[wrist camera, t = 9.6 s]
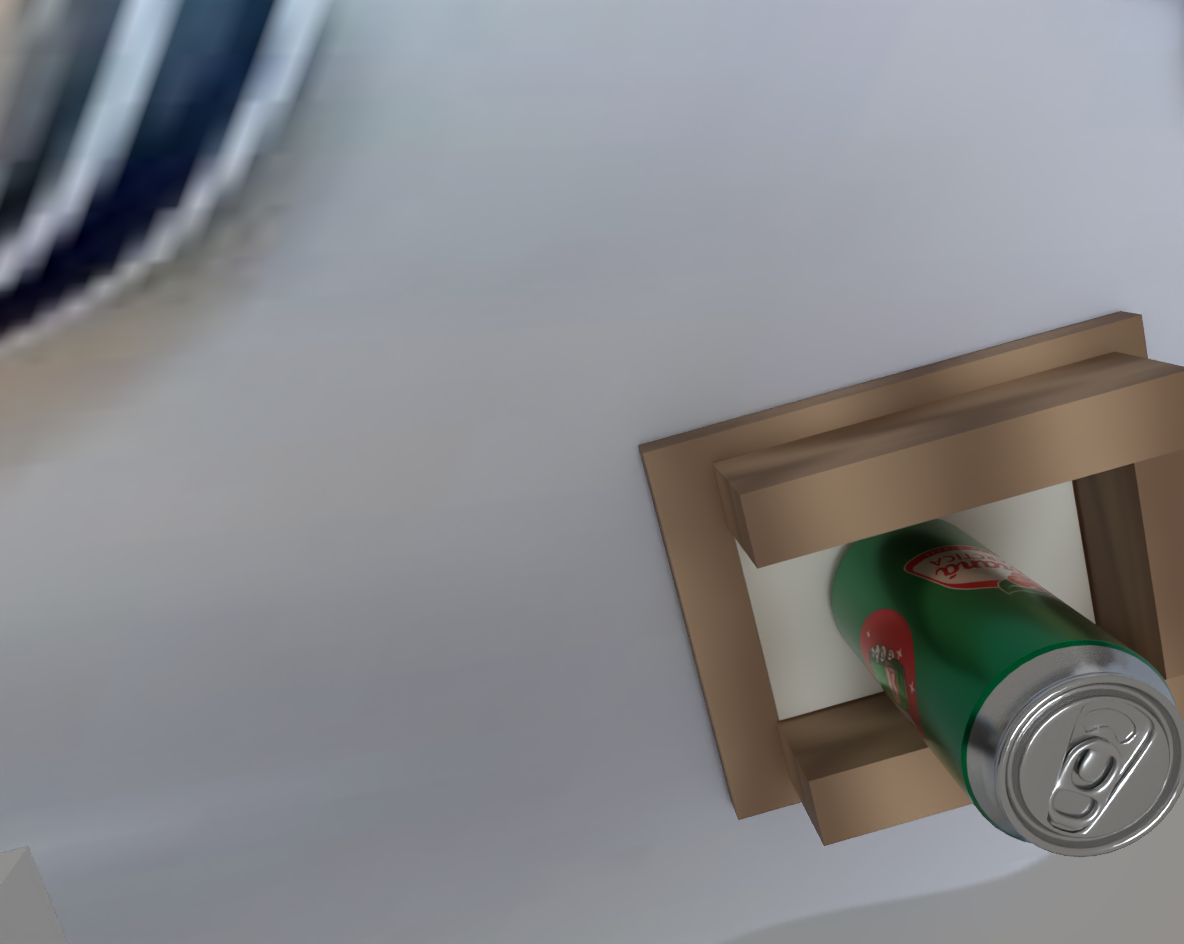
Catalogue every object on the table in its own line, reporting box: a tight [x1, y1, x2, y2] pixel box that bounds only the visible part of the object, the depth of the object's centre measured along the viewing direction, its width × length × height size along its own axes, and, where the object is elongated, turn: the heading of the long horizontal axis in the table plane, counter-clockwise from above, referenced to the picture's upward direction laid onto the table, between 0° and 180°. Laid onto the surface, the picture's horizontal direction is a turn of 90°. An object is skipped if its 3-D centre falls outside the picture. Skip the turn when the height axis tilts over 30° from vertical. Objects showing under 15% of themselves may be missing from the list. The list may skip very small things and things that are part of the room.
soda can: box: [831, 518, 1184, 857], centre depth 30 cm, size 5×5×12 cm
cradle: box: [638, 311, 1184, 846], centre depth 35 cm, size 16×13×5 cm
